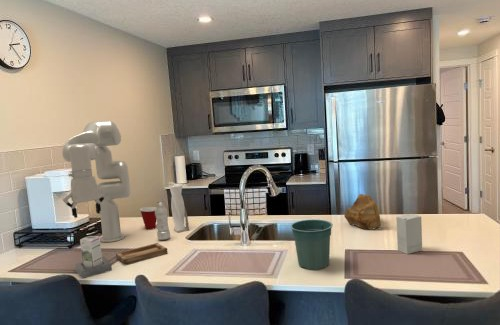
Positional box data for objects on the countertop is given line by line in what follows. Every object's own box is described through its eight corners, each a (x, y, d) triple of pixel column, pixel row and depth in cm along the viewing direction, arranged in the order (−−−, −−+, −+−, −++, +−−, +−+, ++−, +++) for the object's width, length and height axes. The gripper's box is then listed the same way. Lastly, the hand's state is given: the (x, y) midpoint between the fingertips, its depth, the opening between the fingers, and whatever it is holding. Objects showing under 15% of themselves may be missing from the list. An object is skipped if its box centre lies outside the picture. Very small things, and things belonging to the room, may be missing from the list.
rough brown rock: (342, 221, 214) (339, 195, 212) (372, 217, 212) (369, 191, 210) (350, 235, 191) (346, 206, 189) (384, 230, 189) (380, 201, 187)
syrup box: (103, 268, 164) (100, 235, 163) (94, 273, 159) (90, 239, 157) (93, 267, 166) (89, 235, 165) (83, 272, 161) (79, 239, 159)
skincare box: (412, 247, 163) (411, 213, 161) (423, 251, 157) (422, 215, 156) (396, 250, 160) (395, 216, 159) (407, 254, 155) (406, 219, 153)
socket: (75, 270, 164) (74, 263, 164) (104, 263, 171) (103, 256, 171) (81, 278, 154) (80, 271, 154) (112, 270, 161) (111, 263, 161)
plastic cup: (157, 229, 221) (155, 209, 220) (139, 231, 221) (137, 210, 220) (162, 225, 232) (160, 205, 231) (144, 226, 232) (142, 206, 231)
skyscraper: (175, 233, 212) (170, 183, 209) (171, 230, 219) (166, 181, 216) (189, 230, 215) (185, 181, 213) (185, 227, 223) (180, 180, 220)
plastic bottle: (167, 241, 197) (164, 203, 195) (155, 241, 198) (151, 203, 196) (172, 237, 203) (169, 200, 201) (160, 237, 205) (157, 201, 203)
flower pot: (325, 275, 140) (323, 232, 139) (285, 268, 149) (283, 228, 147) (340, 260, 154) (338, 221, 153) (303, 255, 163) (300, 218, 161)
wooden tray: (116, 258, 176) (115, 253, 176) (157, 247, 187) (157, 242, 187) (124, 265, 166) (124, 259, 166) (167, 253, 178) (167, 248, 177)
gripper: (61, 177, 150) (66, 221, 152) (106, 172, 160) (110, 212, 162) (57, 176, 156) (62, 218, 158) (101, 171, 166) (106, 210, 168)
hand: (87, 215), depth 160 cm, fingers open, 8 cm apart
